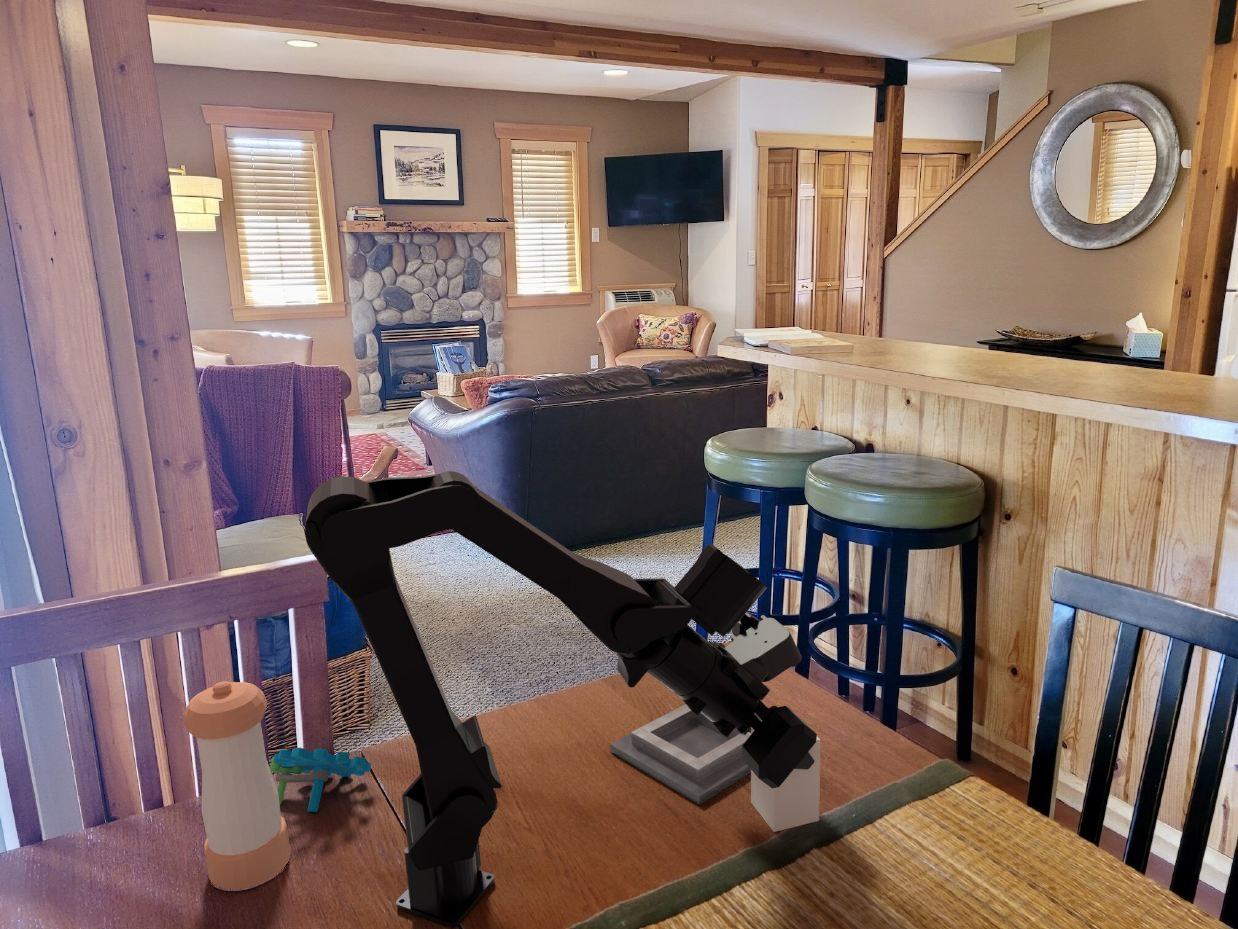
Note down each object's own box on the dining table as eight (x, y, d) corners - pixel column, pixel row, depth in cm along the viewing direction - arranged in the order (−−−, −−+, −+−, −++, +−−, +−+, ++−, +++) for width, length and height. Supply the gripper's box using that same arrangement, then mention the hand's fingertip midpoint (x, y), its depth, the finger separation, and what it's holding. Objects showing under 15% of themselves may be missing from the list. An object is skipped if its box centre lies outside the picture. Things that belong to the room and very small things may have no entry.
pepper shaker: (291, 878, 80) (264, 692, 76) (206, 902, 78) (172, 710, 73) (290, 833, 87) (264, 658, 83) (211, 853, 84) (180, 674, 80)
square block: (773, 832, 84) (774, 749, 82) (751, 802, 89) (750, 724, 87) (819, 820, 86) (820, 739, 83) (794, 792, 90) (795, 715, 88)
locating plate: (699, 805, 89) (698, 783, 88) (610, 751, 99) (609, 732, 98) (784, 751, 98) (784, 731, 97) (694, 707, 108) (694, 689, 107)
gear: (389, 763, 96) (339, 740, 88) (379, 819, 93) (326, 801, 84) (304, 765, 99) (248, 743, 91) (291, 820, 96) (232, 802, 87)
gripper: (797, 642, 72) (905, 735, 78) (708, 570, 89) (802, 650, 95) (712, 745, 72) (826, 831, 77) (639, 652, 89) (737, 728, 95)
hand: (797, 750), depth 86 cm, fingers closed on square block, 5 cm apart
